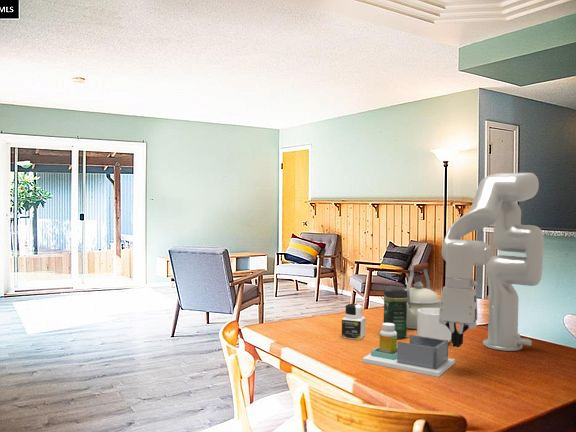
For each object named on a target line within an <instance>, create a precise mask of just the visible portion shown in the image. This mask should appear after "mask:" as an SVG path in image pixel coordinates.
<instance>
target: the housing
mask: <svg viewBox="0 0 576 432" xmlns="http://www.w3.org/2000/svg"><path fill="white" fill-rule="evenodd" d="M448 358H449V342H448V340H441V339H435V338H428V337H422V336H417V334H416V335H415V334H409V342H404V341H397V362H400V363H405V364H410V365H416V366H421V367H426V368H432V369H437V368H439V367H440V366H441V365H442V364H443V363H445V362H446V361H447V360H448Z"/></svg>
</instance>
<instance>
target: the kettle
mask: <svg viewBox="0 0 576 432" xmlns="http://www.w3.org/2000/svg"><path fill="white" fill-rule="evenodd" d="M408 268H409V277H408V280H407V285H406V288H405V289H404V288H403V289H404V290H406V291H407V329H411V330H417V312H418V309H422V308H439V309H440V301H441V298H440V296H439V295H438V294H437V293H436V291H433V290H432V289H431V281H430V277H429V275H428V274H429V273H428V268H429V264H428V262H423V263H417V264H415V265H411V266H409V267H408ZM420 271H423V274H424V277H425V280H426V281H425V282H426V287H424V284H423V283H422V282H421V281H417V282H415V283H414V284H413V286H414V287H411V285H412V282H413V279H414V274H415V272H420Z"/></svg>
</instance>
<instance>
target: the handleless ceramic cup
mask: <svg viewBox="0 0 576 432" xmlns="http://www.w3.org/2000/svg"><path fill="white" fill-rule="evenodd" d="M439 311H440V309H439V308H422V309H418V312H417V329H416V336H422V337H428V338H435V339H441V340H448V343H450V341H451V332H450V330H449V329H448V327H447V326H445V325H442V324H440V323H439V320H440V317H439Z"/></svg>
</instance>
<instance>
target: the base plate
mask: <svg viewBox="0 0 576 432" xmlns="http://www.w3.org/2000/svg"><path fill="white" fill-rule="evenodd" d="M361 362H362V363H365V364H370V365H375V366H382V367H385V368H389V369H390V368H391V369H394V370H395V369H396V370H401V371H406V372H411V373H416V374H420V375H426V376H432V377H437V378H439V377H441V376H442V375H443V374H444V373H445V372H447V371H448V370H449V369H450V368H451V367H452V366H453V365H454V364H456V359H455V358H451V357H448V360H447V361H446V362H445V363H443V364H442V365H441V366H440V367H439V368H437V369H432V368H426V367H421V366H416V365H410V364H405V363H400V362H397V352H396V353H395V354H388V353H383V352H379V346H377V347H376V348H374V349H371V351H370V353H368V354H367V355H365V356H363V357H362V358H361Z"/></svg>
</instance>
